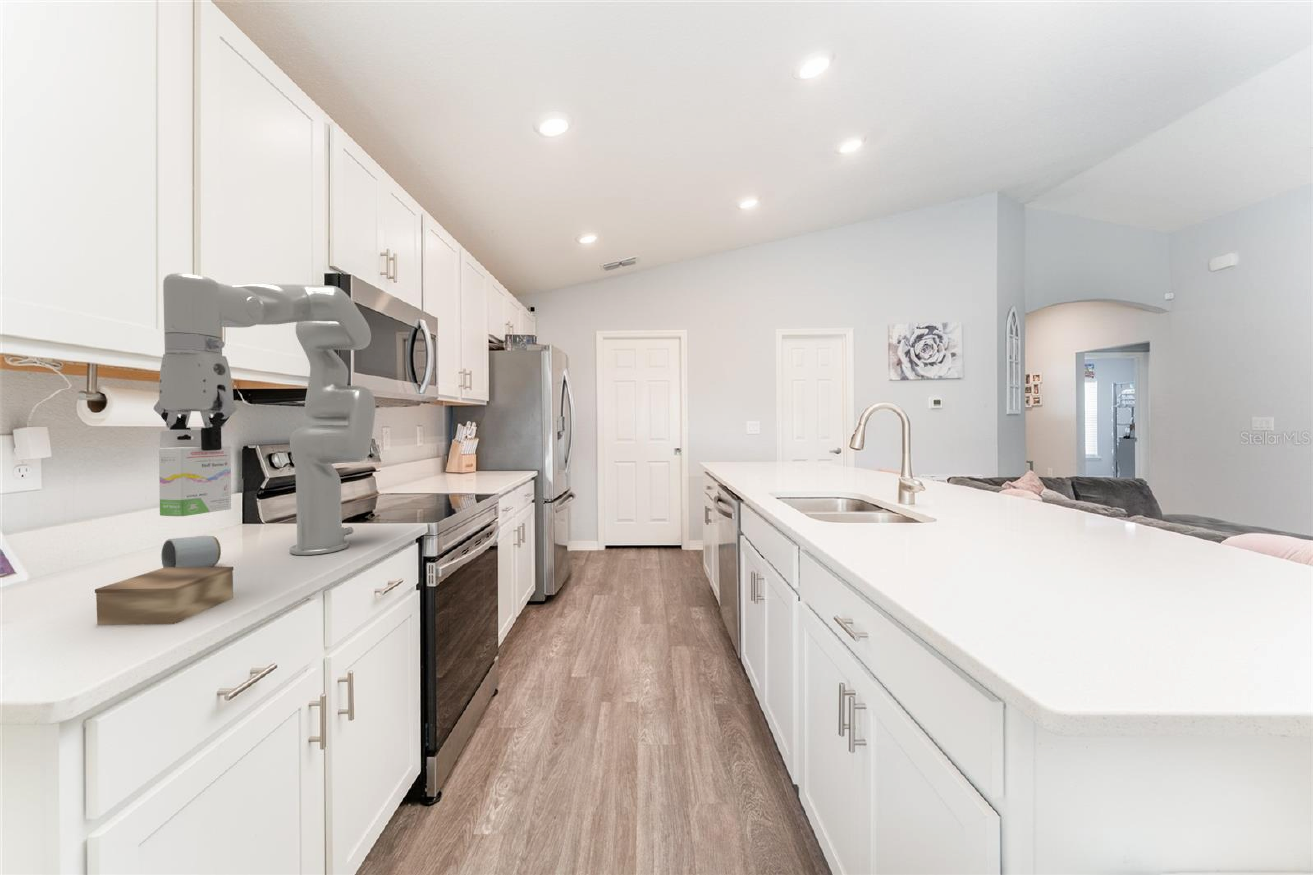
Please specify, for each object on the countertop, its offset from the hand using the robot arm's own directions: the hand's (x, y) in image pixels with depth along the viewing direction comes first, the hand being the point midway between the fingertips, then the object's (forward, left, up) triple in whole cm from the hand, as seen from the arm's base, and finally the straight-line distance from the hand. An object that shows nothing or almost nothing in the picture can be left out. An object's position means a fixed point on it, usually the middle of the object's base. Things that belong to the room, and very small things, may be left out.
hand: (196, 449), depth 90 cm
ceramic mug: (-18, -24, -28) cm, 41 cm away
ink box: (0, 0, -11) cm, 11 cm away
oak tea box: (+3, -2, -28) cm, 28 cm away
